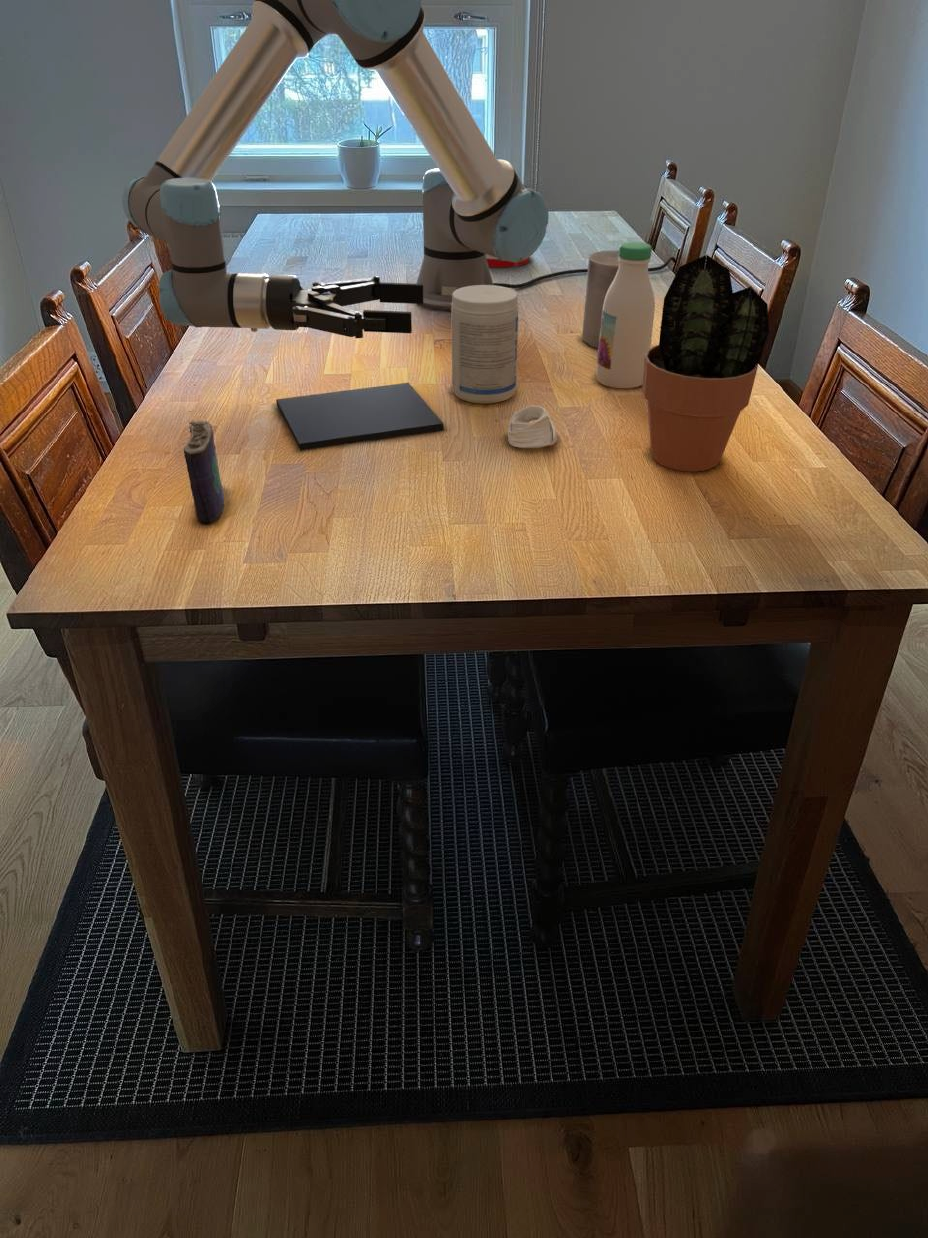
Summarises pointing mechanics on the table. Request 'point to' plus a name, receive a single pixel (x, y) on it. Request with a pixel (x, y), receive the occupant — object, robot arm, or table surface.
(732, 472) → the table surface
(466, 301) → the supplement tub
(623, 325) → the milk bottle
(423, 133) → the robot arm
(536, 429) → the white wrapped ring
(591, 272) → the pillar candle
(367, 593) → the table surface
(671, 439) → the potted plant
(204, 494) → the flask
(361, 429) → the mat
